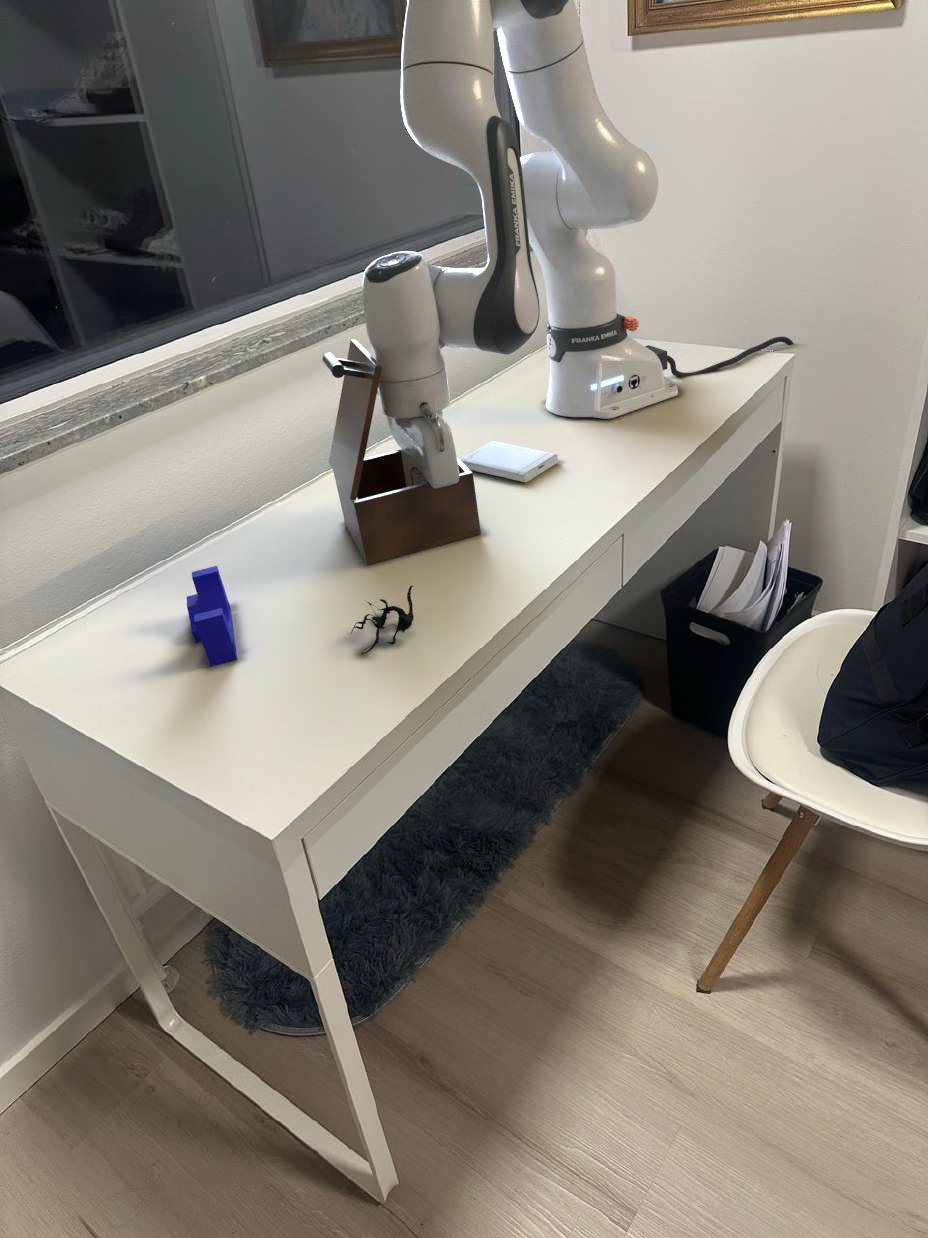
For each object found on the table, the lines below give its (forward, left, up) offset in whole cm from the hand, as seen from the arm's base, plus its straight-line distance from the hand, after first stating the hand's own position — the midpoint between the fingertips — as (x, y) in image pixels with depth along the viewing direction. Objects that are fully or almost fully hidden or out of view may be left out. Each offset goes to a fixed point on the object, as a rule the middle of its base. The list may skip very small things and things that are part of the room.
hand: (430, 493), depth 119 cm
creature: (+13, +24, -5) cm, 28 cm away
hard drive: (-15, -12, -5) cm, 20 cm away
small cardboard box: (0, 0, -4) cm, 4 cm away
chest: (+4, 0, -4) cm, 6 cm away
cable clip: (+32, +14, -5) cm, 35 cm away
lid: (+8, 0, +12) cm, 15 cm away
